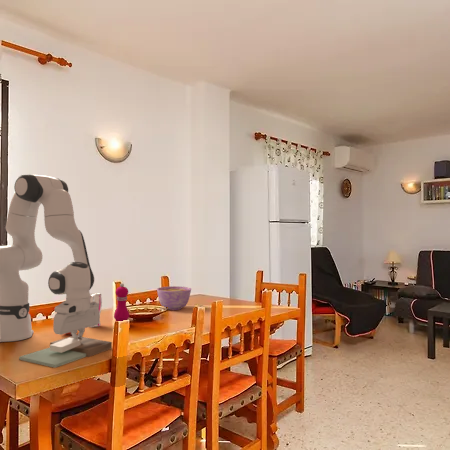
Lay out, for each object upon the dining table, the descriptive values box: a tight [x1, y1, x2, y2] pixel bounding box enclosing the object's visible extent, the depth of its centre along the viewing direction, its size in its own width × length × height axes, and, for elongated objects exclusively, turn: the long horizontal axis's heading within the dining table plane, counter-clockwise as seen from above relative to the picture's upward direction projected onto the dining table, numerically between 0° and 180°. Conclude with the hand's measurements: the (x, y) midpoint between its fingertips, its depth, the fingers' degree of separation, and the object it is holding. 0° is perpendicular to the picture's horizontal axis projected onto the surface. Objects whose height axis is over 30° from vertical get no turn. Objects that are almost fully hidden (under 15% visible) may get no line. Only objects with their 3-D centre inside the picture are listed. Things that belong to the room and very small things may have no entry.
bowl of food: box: [156, 285, 192, 311], centre depth 242 cm, size 20×20×12 cm
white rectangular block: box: [49, 337, 81, 353], centre depth 154 cm, size 6×9×2 cm, turn 153°
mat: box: [18, 347, 87, 369], centre depth 150 cm, size 18×14×1 cm
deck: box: [49, 335, 113, 358], centre depth 161 cm, size 20×12×2 cm, turn 63°
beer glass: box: [89, 292, 103, 328], centre depth 198 cm, size 7×7×15 cm
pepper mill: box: [113, 282, 130, 323], centre depth 201 cm, size 7×7×20 cm
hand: (77, 341), depth 160 cm, fingers closed
